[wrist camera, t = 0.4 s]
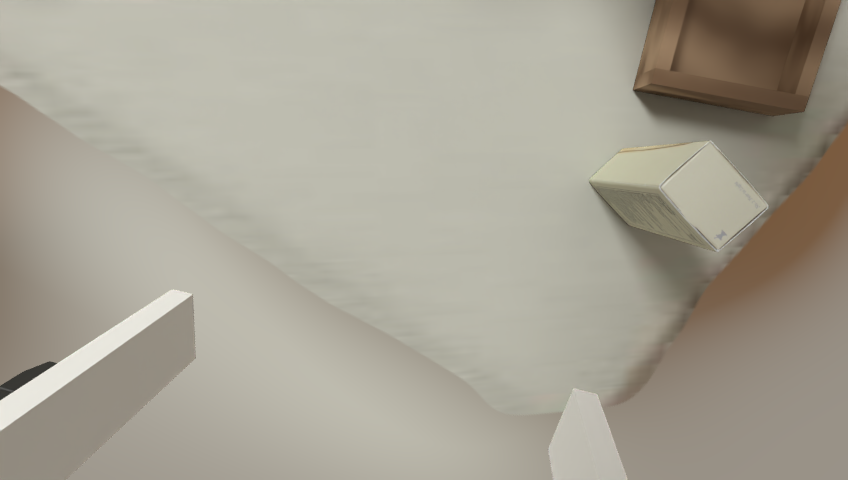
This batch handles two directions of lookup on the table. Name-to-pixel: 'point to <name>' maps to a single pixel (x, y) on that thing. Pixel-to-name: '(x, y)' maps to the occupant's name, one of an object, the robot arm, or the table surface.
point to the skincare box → (680, 192)
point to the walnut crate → (736, 52)
